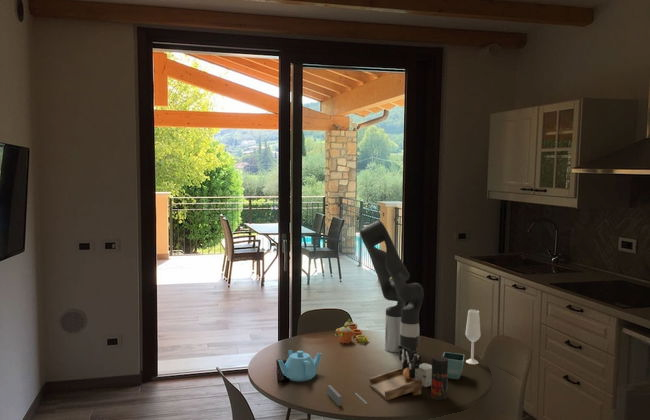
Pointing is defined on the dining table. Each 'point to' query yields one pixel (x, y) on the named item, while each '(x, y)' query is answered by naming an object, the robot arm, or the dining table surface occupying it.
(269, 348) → the dining table surface
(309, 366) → the teapot
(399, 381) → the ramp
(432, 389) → the deodorant
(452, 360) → the flower pot
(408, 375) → the ball
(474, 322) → the champagne flute
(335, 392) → the rail
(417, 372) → the skincare box
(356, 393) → the grey thin rod
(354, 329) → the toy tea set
